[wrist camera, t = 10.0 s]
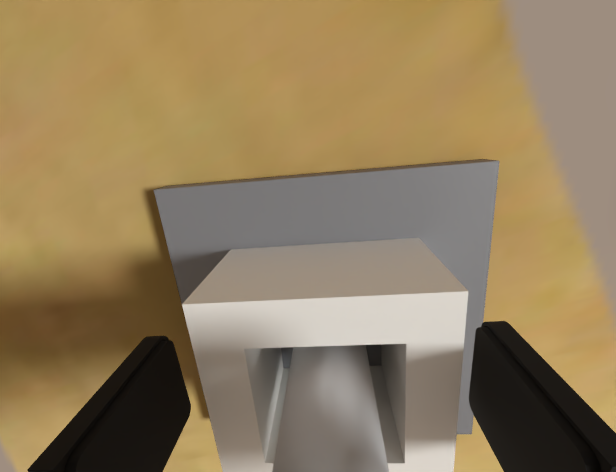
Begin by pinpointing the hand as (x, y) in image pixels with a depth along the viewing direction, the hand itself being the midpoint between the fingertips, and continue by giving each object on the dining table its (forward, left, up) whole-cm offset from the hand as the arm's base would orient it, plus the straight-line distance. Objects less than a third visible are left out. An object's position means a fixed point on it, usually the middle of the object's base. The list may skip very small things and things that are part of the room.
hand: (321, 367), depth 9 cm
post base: (0, 0, -4) cm, 4 cm away
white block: (0, 0, -3) cm, 3 cm away
